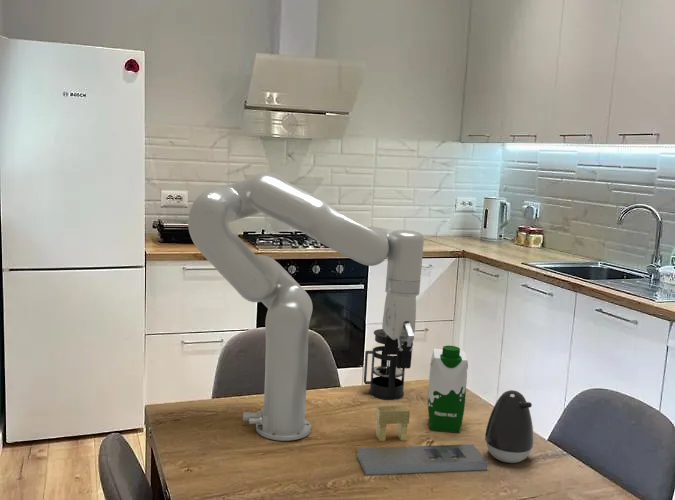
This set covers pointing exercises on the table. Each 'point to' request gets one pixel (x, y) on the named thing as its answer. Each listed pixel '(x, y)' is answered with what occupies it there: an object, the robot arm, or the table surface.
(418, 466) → the grey flat board
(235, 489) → the table surface
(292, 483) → the table surface
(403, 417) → the tan wooden block
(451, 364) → the milk carton
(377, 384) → the french press
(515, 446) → the pump dispenser
